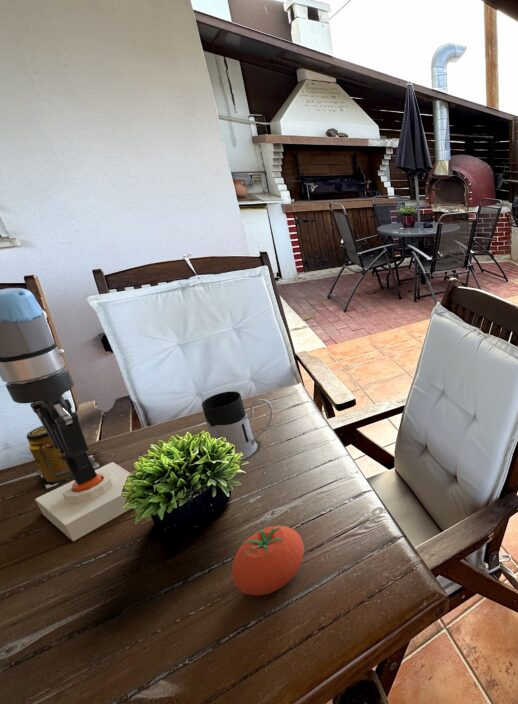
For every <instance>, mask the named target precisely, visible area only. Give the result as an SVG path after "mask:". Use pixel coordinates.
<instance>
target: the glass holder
mask: <svg viewBox="0 0 518 704" xmlns="http://www.w3.org/2000/svg"><path fill="white" fill-rule="evenodd" d="M259 402H263V403H266V404H267V405H268V406H269V410H270V417H269V421H268V423H267V424H266V425H265V427H264V428H263V429H261V431H260V432H258V433H257V434H256V435H255V436H253V431H252V429H251V424H250V420H249V418H252V417H253V416H254V413H255V412H254V405H255V404H256V403H259ZM201 408H202V411H203V417H204V421H205V423H206V427H207V430H208V433H209V436H210V435H211V436H212V437H213V438H216V439H218V438H220V437H225V438H226V440H227V441H228V442H229V443H231V444H233V445H235V452H242V453H243V457H242V460H241V461H244V460H245V459H247V458H249V457H250V456H252V455H253V454H254V453H255V452H256V451H257V449H258V444H257V442H255V440H256V439H258V438H259V436H260V435H261V434H263V433H264V432H265V431H266V430H267V429H268V428H269V426H270V425H271V423H272V420H273V417H274V415H273V414H274V411H273V406H272V404H271V402H270V401H269V400H268V399H265V398H258V399H256V400H254V401H253V402H252V403H251V404H250V413H251V414H249V415H248V414H247V411H246V409H245V405H244V403H243V398H242V395H241V393H240V392H239V391H233V390H232V391H231V390H230V391H223V392H220V393H217V394H213V395H211V396H209V397H208V398H206V399H204V400H203V401H202V402H201ZM211 436H210V437H211Z"/></svg>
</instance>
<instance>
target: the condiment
mask: <svg viewBox="0 0 518 704" xmlns="http://www.w3.org/2000/svg"><path fill="white" fill-rule="evenodd" d="M26 439H27V441H28V444H29V446H28V449H29V451H30V453H31V455H32V457H33V458H34V461H35V463H36V464H37V467H38V468H39V470H40V472H41V474H40V477H41V478H44V479H45V481H46V482H47V483H48V484H45V485H44V486H45V488H46V489H50V488H52V487H55V486H58V485H59V484H60V482H63V481H65V480H66V481H68V480H70V479H73V476H72V474H71V472H70V470H69V468H68V466H67V464H66V462H65V460H62V459H61V458H60V457H61V456H63V455H65V453H64V454H62V453H60V452H59V448H58V449H57V448H55V447H54V444H53V442H52V440H51V438H50V437H49V435H48V433H47V431H46V430H45V428H44V426H43V425H41V426H39V427H36V428H33V429H32V430H31V431H29V432H27V433H26ZM88 457H89V459H91V461H95V458H93V457H94V455H93V454H92V455H91V454H90V455H88ZM92 466H93V468H94V469H98V467H99V468H100V464H99V463H98V462H93V464H92ZM50 483H54V484H50Z"/></svg>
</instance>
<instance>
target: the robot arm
mask: <svg viewBox="0 0 518 704" xmlns="http://www.w3.org/2000/svg"><path fill="white" fill-rule="evenodd" d="M63 354H65V350H63V349H62V348H59V347H58V346H57V342H56V341H55V339H54V337H53V335H52V332H51V330H50V327H49V324H48V322H47V319H46V317H45V314H44V310H43V308H41V306H40V304H39V303H38V301H37V299H36V297H35V295H34V293H32V292H31V291H30V290H29V289H26V288H23V287H22V288H20V287H7V288H2V289H0V379H1V381H2V382H4V383H6V384H5V388H6V390H7V391H8V394H9V396H10V397H11V399H12V401H13V402H14V403H17V404H29V405H30V408H31V409H32V411H33V413H34V414H36V416H37V417H38V420H39V421H40V423H41V424H42V426H44V428H45V430H46V431H47V433H48V435H49V437H50V438H51V440H52V442H53V444H54V447H55V448H57V449H58V448H59V452H60V453H62V454H64V453H65V455H63V456H61V457H60V458H61V459H62V460H65V462H66V464H67V466H68V468H69V470H70V472H71V474H72V479H73V481H74V480H75V482H76V483H77V484H79V485H80V484H82V483H84V482H86V481H88V480H90V479H92V478H94V477H96V476H97V475H96V472H95V470H96V469H95V468H93V463H92V461H91V459H90V458H89V457H90V456H89V455H88V453H87V452H88V451H89V448H90V447H89V446H88V444H87V441H86V438H85V436H84V433H83V429H82V428H81V424H80V422H79V414H78V413H77V412H76V411H73V410H72V403H71V402H70V401H71V400H69V399H67V398H66V399H65V397H64V396H63V395H64V394H66V392H69V391H70V390H71V389H73V387H74V386H75V383H74V380H73V378H72V375H71V374H70V373H71V372H70V371H69V369H68V368H66V367H65V366H66V363H65V361H64V358H63V357H62V356H61V355H63ZM88 456H89V457H88Z"/></svg>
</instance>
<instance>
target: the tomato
mask: <svg viewBox="0 0 518 704" xmlns="http://www.w3.org/2000/svg"><path fill="white" fill-rule="evenodd" d="M258 530H259V531H257V532H255V533H254V534H253V535H251V536H250V537H248V538H247V539H246V540H245V541H244V542H243V543H241V546H240V547H239V548H238V550H237V551H236V553H235V555H234V557H233V560H232V565H231V577H232V581H233V583H234V585H235V586H236V588H237V589H238V590H240V591H241V592H242V593H244V594H247V595H251V596H256V597H257V596H264V595H268V594H271V593H274V592H276V591H277V590H280V589H281V588H283V587H284V586H285V585H287V584H288V583H289V582H290V581H291V580H292V579H293V578H294V577H295V576H296V574H297V573H298V571H299V570H300V567H301V565H302V563H303V559H304V556H305V555H304V554H305V547H304V542H303V539H302V537H301V535H300V534H299V533H298V532H297V531H296V530H295V529H293V528H291V527H289V526H285V525H274V526H269V527H266V528H264V529H258Z"/></svg>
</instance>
